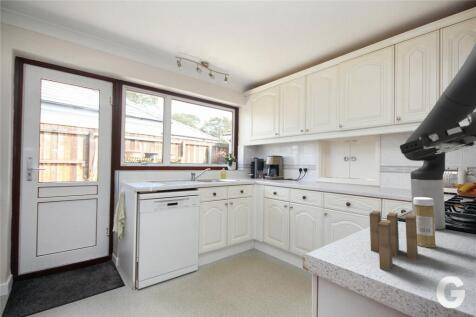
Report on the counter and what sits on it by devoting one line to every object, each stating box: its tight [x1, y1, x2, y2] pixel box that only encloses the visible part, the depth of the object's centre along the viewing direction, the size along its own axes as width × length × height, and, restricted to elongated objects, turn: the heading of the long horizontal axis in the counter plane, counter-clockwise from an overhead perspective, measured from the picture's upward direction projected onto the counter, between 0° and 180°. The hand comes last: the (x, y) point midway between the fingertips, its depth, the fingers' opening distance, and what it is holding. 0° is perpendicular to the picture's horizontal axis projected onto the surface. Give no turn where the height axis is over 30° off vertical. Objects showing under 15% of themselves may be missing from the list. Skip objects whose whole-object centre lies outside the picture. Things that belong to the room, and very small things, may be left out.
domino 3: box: [405, 213, 419, 260], centre depth 59 cm, size 5×2×10 cm, turn 139°
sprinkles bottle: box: [413, 197, 437, 248], centre depth 66 cm, size 5×5×13 cm
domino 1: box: [378, 219, 394, 272], centre depth 53 cm, size 5×2×10 cm, turn 139°
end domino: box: [369, 210, 382, 253], centre depth 64 cm, size 5×2×10 cm, turn 139°
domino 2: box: [386, 211, 400, 257], centre depth 62 cm, size 5×2×10 cm, turn 139°
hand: (407, 152), depth 53 cm, fingers open, 8 cm apart
